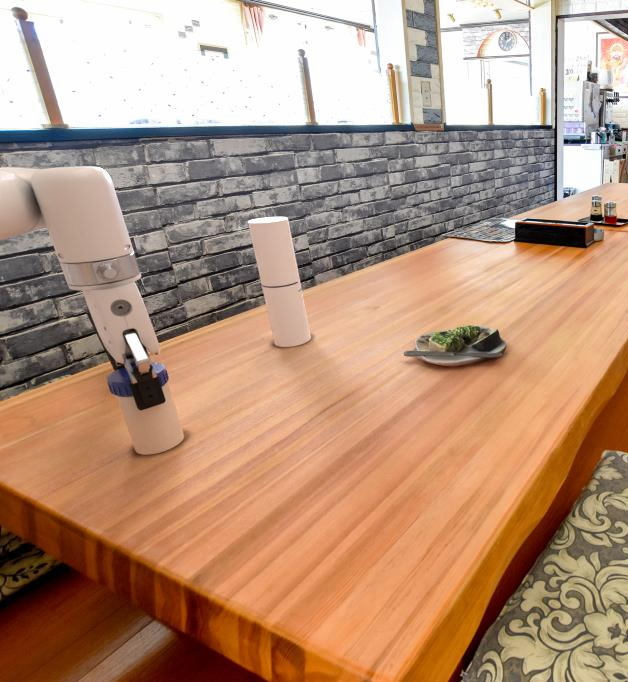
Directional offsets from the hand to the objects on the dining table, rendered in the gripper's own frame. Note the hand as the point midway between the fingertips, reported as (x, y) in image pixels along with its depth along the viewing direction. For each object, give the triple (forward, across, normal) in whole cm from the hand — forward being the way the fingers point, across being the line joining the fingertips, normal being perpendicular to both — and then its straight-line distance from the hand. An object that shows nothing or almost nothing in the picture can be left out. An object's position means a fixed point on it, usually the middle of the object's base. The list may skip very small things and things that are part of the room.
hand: (144, 396), depth 73 cm
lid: (-3, 0, 0) cm, 3 cm away
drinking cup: (+8, +31, -3) cm, 32 cm away
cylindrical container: (+8, +24, -30) cm, 39 cm away
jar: (+7, 0, 0) cm, 7 cm away
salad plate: (+8, -8, -50) cm, 51 cm away
